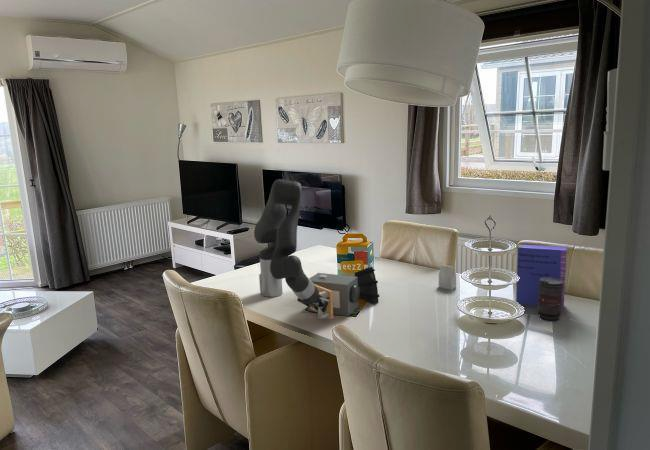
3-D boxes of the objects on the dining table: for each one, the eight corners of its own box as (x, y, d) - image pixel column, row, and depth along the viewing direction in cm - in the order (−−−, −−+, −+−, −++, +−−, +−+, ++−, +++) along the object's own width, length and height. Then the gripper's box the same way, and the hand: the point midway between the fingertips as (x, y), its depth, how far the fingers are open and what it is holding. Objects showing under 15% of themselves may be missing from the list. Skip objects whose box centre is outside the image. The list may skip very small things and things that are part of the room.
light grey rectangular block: (451, 290, 226) (451, 268, 224) (438, 286, 231) (438, 265, 229) (456, 288, 228) (456, 266, 226) (443, 284, 233) (443, 263, 231)
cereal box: (563, 305, 203) (566, 246, 198) (563, 309, 198) (566, 249, 194) (517, 300, 210) (518, 244, 205) (516, 304, 206) (517, 246, 201)
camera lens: (550, 324, 185) (552, 285, 182) (532, 317, 192) (534, 279, 189) (565, 319, 188) (568, 281, 185) (547, 313, 195) (549, 275, 192)
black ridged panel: (376, 302, 210) (366, 267, 212) (360, 307, 221) (350, 274, 224) (384, 300, 212) (373, 266, 214) (367, 305, 223) (357, 272, 225)
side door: (300, 311, 205) (298, 285, 202) (311, 307, 208) (310, 282, 205) (322, 321, 193) (320, 294, 191) (333, 318, 196) (332, 290, 194)
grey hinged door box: (307, 310, 209) (305, 278, 206) (319, 301, 218) (317, 271, 216) (351, 316, 200) (350, 283, 198) (362, 307, 210) (361, 275, 207)
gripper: (324, 281, 182) (340, 302, 195) (291, 278, 188) (308, 299, 201) (319, 300, 178) (335, 320, 191) (285, 297, 184) (303, 316, 197)
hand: (321, 309), depth 196 cm, fingers closed on side door, 2 cm apart
